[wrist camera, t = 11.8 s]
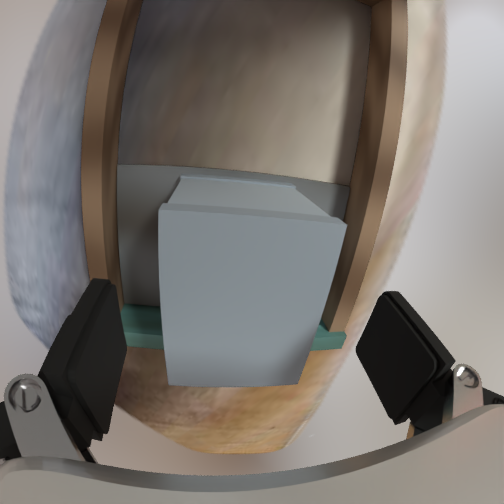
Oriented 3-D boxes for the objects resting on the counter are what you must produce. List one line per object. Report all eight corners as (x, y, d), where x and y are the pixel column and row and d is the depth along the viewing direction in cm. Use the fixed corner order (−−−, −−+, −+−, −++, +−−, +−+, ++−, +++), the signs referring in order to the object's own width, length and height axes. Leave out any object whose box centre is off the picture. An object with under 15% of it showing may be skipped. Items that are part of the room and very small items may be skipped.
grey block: (182, 173, 14) (158, 209, 8) (292, 183, 16) (347, 224, 9) (178, 300, 18) (168, 384, 11) (270, 303, 19) (297, 384, 12)
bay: (139, -41, 8) (130, -63, 5) (386, 1, 11) (411, -11, 8) (111, 314, 18) (100, 342, 15) (327, 322, 21) (341, 348, 18)
